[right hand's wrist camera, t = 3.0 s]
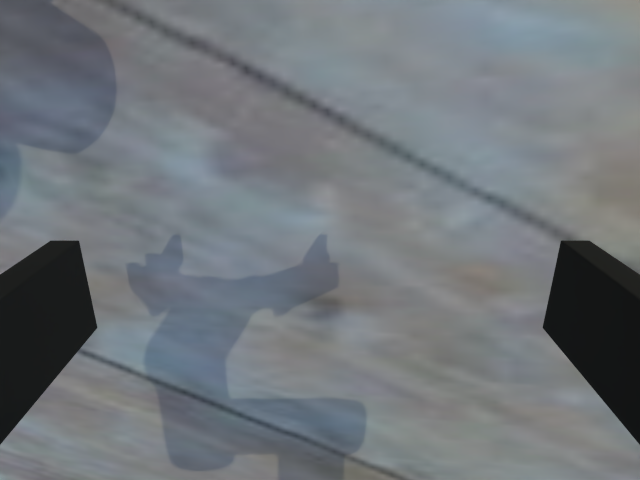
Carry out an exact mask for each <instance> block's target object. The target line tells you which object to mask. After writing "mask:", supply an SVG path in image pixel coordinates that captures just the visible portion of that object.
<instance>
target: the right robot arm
mask: <svg viewBox="0 0 640 480" xmlns="http://www.w3.org/2000/svg"><path fill="white" fill-rule="evenodd" d="M96 329H97V324H96V319H95V315H94V310H93V305H92V301H91V296H90V291H89V286H88V282H87V277H86V272H85V267H84V263H83V258H82V253H81V248H80V244H79V241H50V242H48V243H47V244H45V245H44V246H42V247H41V248H39V249H38V250H36V251H35V252H33V253H32V254H30V255H29V256H27V257H26V258H24V259H23V260H21V261H20V262H18V263H17V264H16V265H14V266H13V267H11V268H10V269H8V270H7V271H5V272H4V273H2V274H1V275H0V444H1V443H2V442H3V441H4V439H5V438H6V437H7V436H8V435H9V433H10V432H11V431H12V430H13V428H14V427H15V426H16V425H17V424H18V422H19V421H20V420H21V419H22V418H23V416H24V415H25V414H26V413H27V412H28V410H29V409H30V408H31V407H32V406H33V404H34V403H35V402H36V401H37V400H38V398H39V397H40V396H41V395H42V394H43V392H44V391H45V390H46V389H47V388H48V386H49V385H50V384H51V383H52V382H53V380H54V379H55V378H56V377H57V376H58V374H59V373H60V372H61V371H62V369H63V368H64V367H65V366H66V365H67V363H68V362H69V361H70V360H71V359H72V357H73V356H74V355H75V354H76V353H77V351H78V350H79V349H80V348H81V347H82V345H83V344H84V343H85V342H86V341H87V339H88V338H89V337H90V336H91V335H92V333H93V332H94V331H95V330H96ZM543 329H544V330H545V331H546V332H547V333H548V335H549V336H550V337H551V338H552V339H553V341H554V342H555V343H556V344H557V345H558V347H559V348H560V349H561V350H562V351H563V353H564V354H565V355H566V356H567V357H568V359H569V360H570V361H571V362H572V363H573V365H574V366H575V367H576V368H577V370H578V371H579V372H580V373H581V374H582V376H583V377H584V378H585V379H586V380H587V382H588V383H589V384H590V385H591V386H592V388H593V389H594V390H595V391H596V392H597V394H598V395H599V396H600V397H601V398H602V400H603V401H604V402H605V403H606V404H607V406H608V407H609V408H610V409H611V410H612V412H613V413H614V414H615V415H616V416H617V418H618V419H619V420H620V421H621V422H622V424H623V425H624V426H625V427H626V428H627V430H628V431H629V432H630V433H631V435H632V436H633V437H634V438H635V439H636V441H637V442H638V443H639V444H640V275H639V274H638V273H636V272H635V271H633V270H632V269H630V268H629V267H627V266H626V265H624V264H623V263H622V262H620V261H619V260H617V259H616V258H614V257H613V256H611V255H610V254H608V253H607V252H605V251H604V250H602V249H601V248H599V247H598V246H596V245H595V244H593V243H592V242H590V241H561V244H560V248H559V253H558V258H557V263H556V267H555V272H554V277H553V282H552V286H551V291H550V296H549V301H548V305H547V310H546V315H545V319H544V324H543Z"/></svg>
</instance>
